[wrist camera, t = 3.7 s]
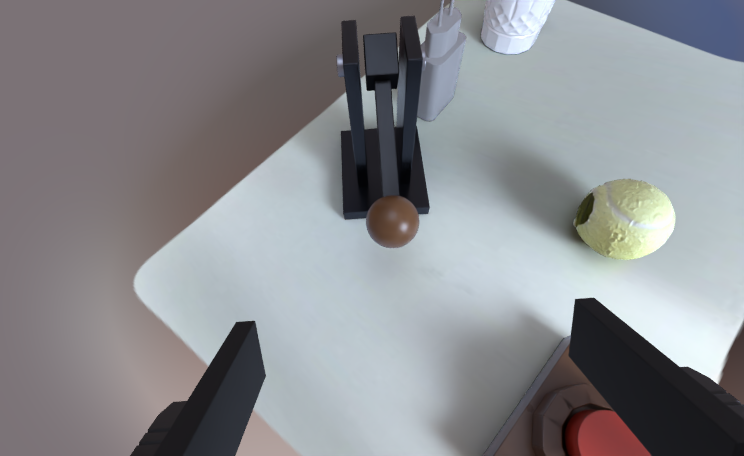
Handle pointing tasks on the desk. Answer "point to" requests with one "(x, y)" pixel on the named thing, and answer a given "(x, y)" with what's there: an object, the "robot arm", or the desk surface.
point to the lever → (387, 146)
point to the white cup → (513, 24)
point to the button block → (548, 409)
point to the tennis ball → (625, 219)
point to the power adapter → (441, 61)
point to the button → (601, 435)
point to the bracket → (363, 143)
